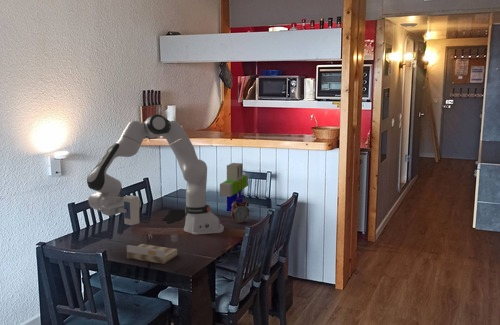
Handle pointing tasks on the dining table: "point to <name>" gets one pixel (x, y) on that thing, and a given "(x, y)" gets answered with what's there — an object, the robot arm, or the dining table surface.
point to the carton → (131, 210)
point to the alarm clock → (239, 211)
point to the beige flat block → (151, 253)
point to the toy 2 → (234, 184)
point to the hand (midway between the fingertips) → (132, 209)
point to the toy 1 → (174, 216)
